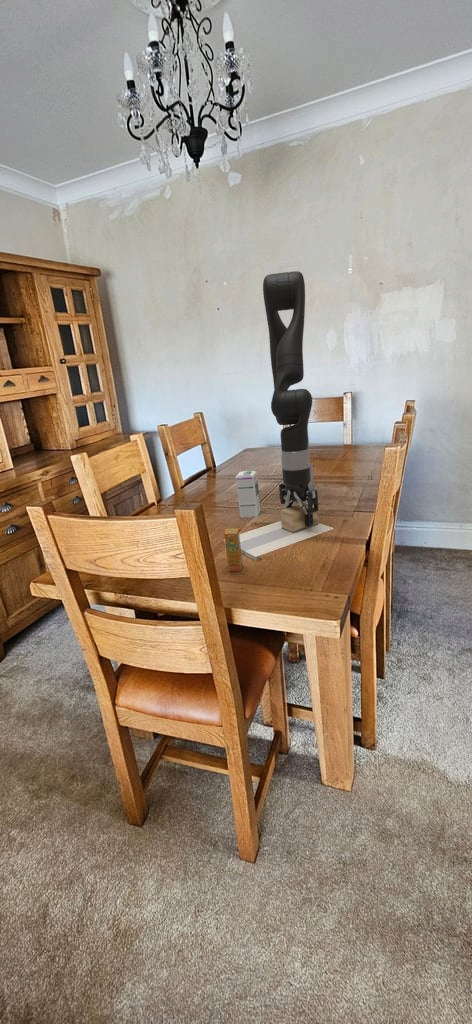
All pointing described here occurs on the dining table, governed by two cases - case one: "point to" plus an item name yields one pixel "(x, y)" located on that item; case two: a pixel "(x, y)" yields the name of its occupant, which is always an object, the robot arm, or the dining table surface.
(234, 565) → the supplement box
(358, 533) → the dining table surface
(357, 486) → the dining table surface
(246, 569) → the dining table surface
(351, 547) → the dining table surface
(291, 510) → the block
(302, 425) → the robot arm
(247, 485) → the syrup box
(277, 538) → the board
